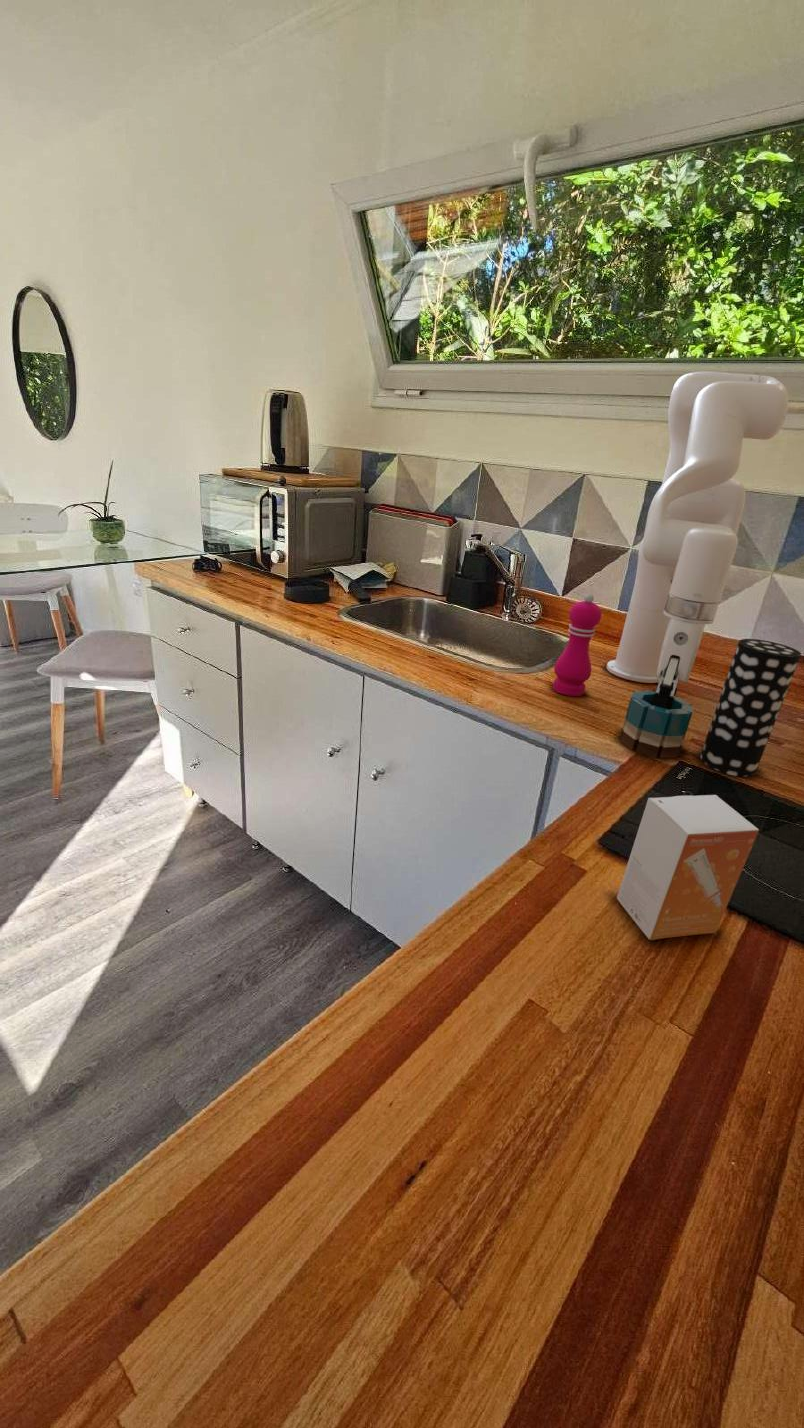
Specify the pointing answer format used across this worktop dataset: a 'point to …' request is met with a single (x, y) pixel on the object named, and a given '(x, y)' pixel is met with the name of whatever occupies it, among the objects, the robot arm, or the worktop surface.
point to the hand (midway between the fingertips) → (659, 711)
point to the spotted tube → (749, 706)
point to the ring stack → (650, 742)
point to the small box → (685, 865)
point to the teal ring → (659, 715)
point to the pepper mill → (577, 649)
